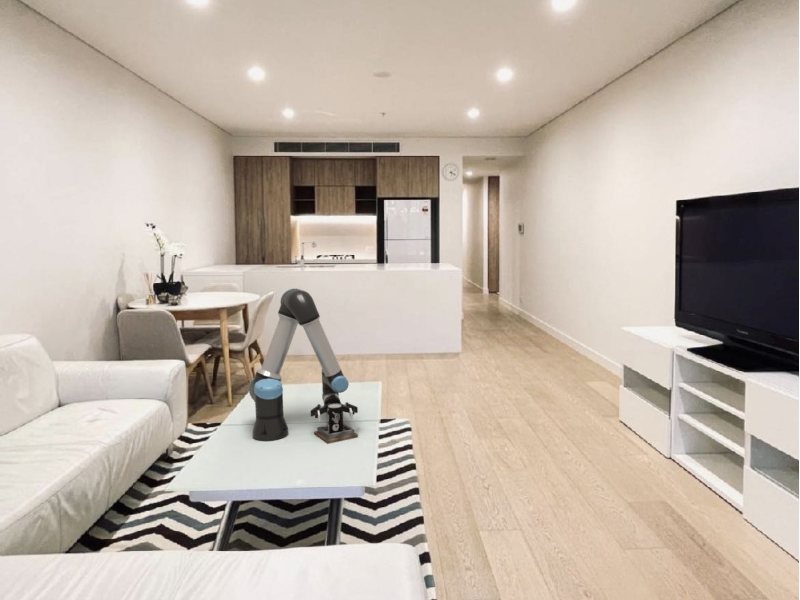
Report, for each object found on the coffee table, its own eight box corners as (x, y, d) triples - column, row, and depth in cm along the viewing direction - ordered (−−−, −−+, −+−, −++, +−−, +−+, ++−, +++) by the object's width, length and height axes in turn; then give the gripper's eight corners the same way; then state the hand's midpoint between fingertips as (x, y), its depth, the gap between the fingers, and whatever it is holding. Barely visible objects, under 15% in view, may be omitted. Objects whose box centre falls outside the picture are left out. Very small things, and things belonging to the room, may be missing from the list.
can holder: (327, 443, 233) (326, 436, 233) (314, 434, 245) (313, 427, 245) (357, 437, 240) (357, 429, 240) (343, 428, 252) (343, 421, 252)
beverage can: (346, 432, 243) (345, 405, 242) (335, 436, 238) (334, 408, 237) (336, 429, 247) (335, 402, 246) (324, 433, 243) (323, 405, 241)
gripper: (359, 409, 262) (365, 423, 241) (304, 413, 258) (305, 427, 237) (359, 393, 261) (364, 405, 241) (304, 397, 257) (305, 410, 236)
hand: (335, 416), depth 239 cm, fingers open, 13 cm apart
